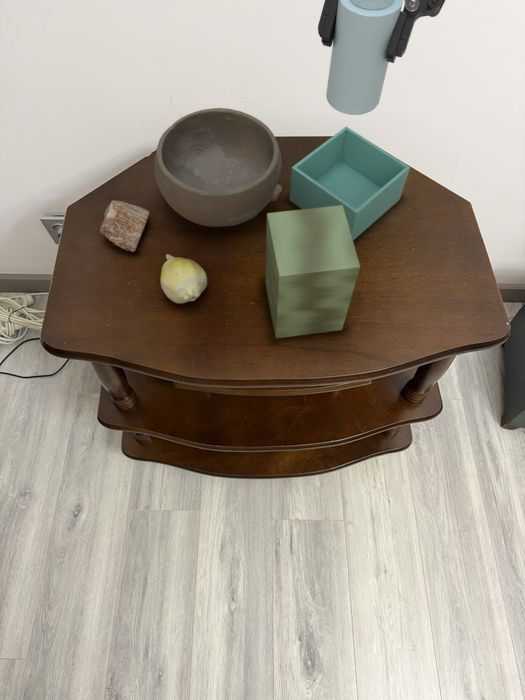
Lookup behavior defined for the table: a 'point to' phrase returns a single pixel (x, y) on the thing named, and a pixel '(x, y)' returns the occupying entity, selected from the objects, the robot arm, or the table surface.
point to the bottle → (360, 53)
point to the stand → (309, 270)
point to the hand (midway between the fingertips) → (358, 51)
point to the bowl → (218, 167)
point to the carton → (349, 179)
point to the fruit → (182, 279)
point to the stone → (124, 224)
